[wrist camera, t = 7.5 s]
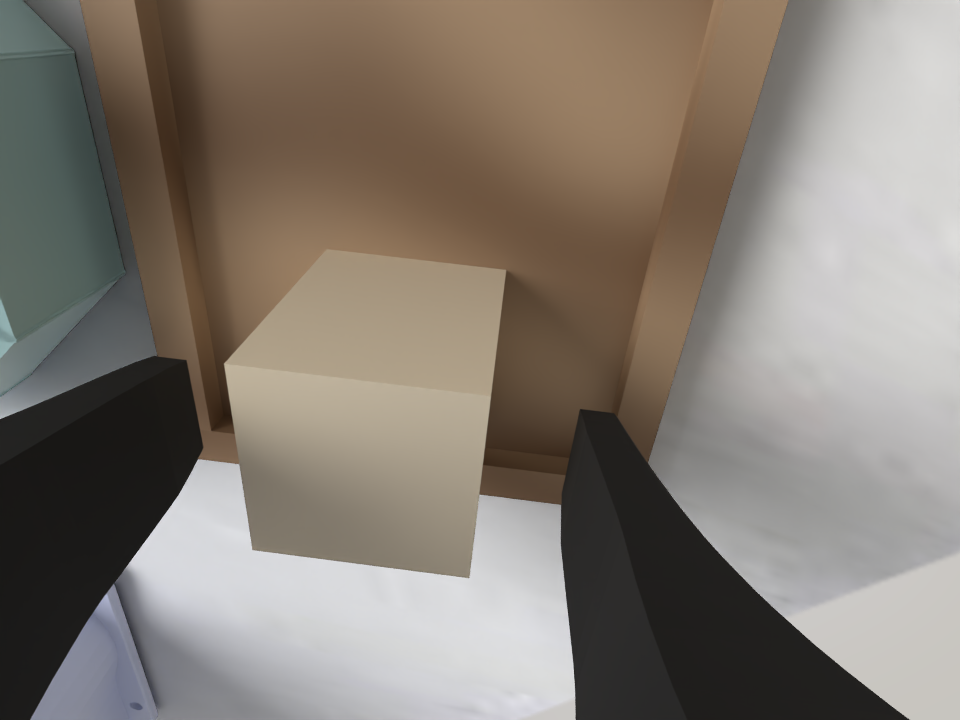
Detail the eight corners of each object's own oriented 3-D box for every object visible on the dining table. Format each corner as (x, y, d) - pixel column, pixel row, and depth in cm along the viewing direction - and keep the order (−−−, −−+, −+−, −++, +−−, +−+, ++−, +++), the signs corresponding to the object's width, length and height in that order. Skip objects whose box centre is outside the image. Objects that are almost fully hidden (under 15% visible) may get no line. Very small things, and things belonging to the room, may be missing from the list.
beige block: (488, 417, 15) (469, 577, 11) (333, 397, 15) (252, 550, 11) (506, 269, 13) (490, 396, 9) (327, 249, 13) (224, 363, 9)
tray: (626, 482, 16) (632, 513, 15) (201, 429, 17) (179, 456, 16) (844, -281, 9) (885, -320, 8) (54, -352, 9) (-8, -398, 8)
